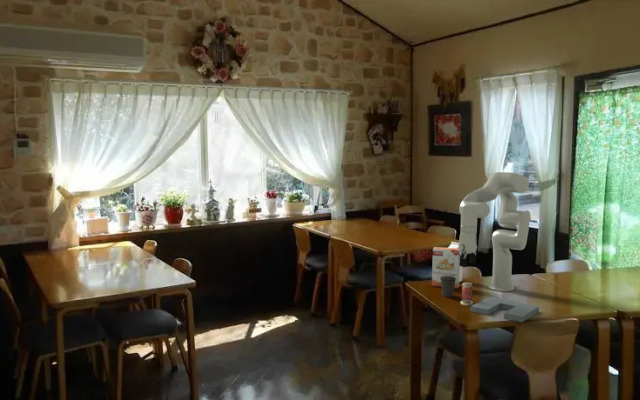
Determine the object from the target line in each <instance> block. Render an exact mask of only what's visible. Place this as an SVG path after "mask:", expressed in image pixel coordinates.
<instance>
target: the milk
mask: <svg viewBox="0 0 640 400" xmlns="http://www.w3.org/2000/svg"><path fill="white" fill-rule="evenodd" d="M450 243H451V244H449V246H448V247H447V248H457V249H459V242H456V241H451V242H450ZM462 281H463V267H462V266H460V271H459V283H460V282H462Z"/></svg>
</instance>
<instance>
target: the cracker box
mask: <svg viewBox="0 0 640 400" xmlns="http://www.w3.org/2000/svg"><path fill="white" fill-rule="evenodd" d="M459 262H460V258H459V252H458V249H457V248H448V247H441V246H440V247H439V246H434V247H433V248H432V265H431V267H432V269H431V270H432V271H431V286H432V287H437V288H438V287H439V288H442V287H441V279H440V278H441V277H442V276H452V277H455V278H456V280H455V286H454V289H459V287H460V282H459V271H460V266H459Z"/></svg>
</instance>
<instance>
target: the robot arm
mask: <svg viewBox="0 0 640 400" xmlns="http://www.w3.org/2000/svg"><path fill="white" fill-rule="evenodd" d="M529 185H530V182H529V179H528V178H527V177H526V176H524V175H522V174H520V173H515V172H508V171H507V172H504V171H499V172H497V171H495V172H494V173H492V174H491V175H490V176H489V178H488V179H487V181H486V182H485V184H483V186H482V187H480V188H478V189H475V190H473V191H471V192H470V193H468V194H467V195H466V196H465V197H464V198H463V200H462V201H461V202H460V205H459V209H458V210H459V213H460V234H459V240H458V243H459V249H458V252H459V258H460V262H459V266H462V268H463V267H464V268H466V267H467V255H468V263H469V264H476V256H477V251H478V250H477V249H478V245H477V231H478V229H477V228H478V219H485V218H487V216H489V214H490V209H491V208H490V206H489V204H487V203H488V202H491V201H494V200H496V199H497V198H498V196H499V197H500V203H499V204H500V205H499V210H498V216H497V223H498V225H499V226H500V227H502V228H507V229H496V230H494V231H493V232H492V234H491V242H492V243H491V244H492V254H493V255H492V257H493V258H492V282H491V284H489V286H488V288H489V289H490V290H493V291H497V292H512V291H514V290H515V287H514V285H512V283H513V282H514V280H513V278H512V269H513V268H512V267H513V255H512V252H511V251H510V250H518V251H522V250H524V249H525V248H526V245H527V243H528V242H527V241H528V235H529V231H530V230H529V229H530V221H531V220H530V215H529V213H528V212H526V211H524V210H518V209H517V208H518V199H517V197H516V195H515V194H514V193H516V194H524V193H526V192H527V191H528V189H529V187H530V186H529ZM509 229H516V230H509Z"/></svg>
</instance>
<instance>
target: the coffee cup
mask: <svg viewBox="0 0 640 400" xmlns="http://www.w3.org/2000/svg"><path fill="white" fill-rule="evenodd" d="M440 279H441V287H440V288H441V296H442V297H444V298H452V297H454V293H455V288H454V286H455V280H456V278H455V277H452V276H442V277H441V278H440Z"/></svg>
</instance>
